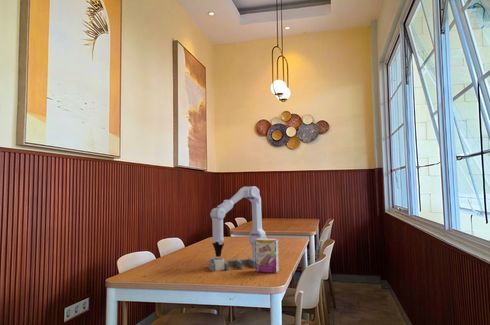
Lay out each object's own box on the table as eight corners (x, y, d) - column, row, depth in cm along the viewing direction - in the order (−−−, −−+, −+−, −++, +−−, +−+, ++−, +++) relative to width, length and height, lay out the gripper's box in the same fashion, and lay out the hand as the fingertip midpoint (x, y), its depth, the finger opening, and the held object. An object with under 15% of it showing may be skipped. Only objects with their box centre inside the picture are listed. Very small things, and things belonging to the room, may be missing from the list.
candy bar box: (255, 272, 180) (254, 239, 181) (258, 270, 185) (257, 238, 186) (276, 273, 177) (275, 240, 178) (279, 271, 181) (278, 238, 182)
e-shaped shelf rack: (249, 263, 201) (248, 254, 202) (255, 268, 189) (255, 258, 190) (208, 267, 195) (208, 257, 195) (212, 271, 183) (212, 262, 183)
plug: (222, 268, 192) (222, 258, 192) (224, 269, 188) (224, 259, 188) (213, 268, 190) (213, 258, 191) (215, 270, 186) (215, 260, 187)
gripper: (208, 229, 196) (208, 254, 195) (213, 232, 182) (213, 259, 181) (220, 228, 198) (221, 253, 197) (226, 231, 184) (227, 258, 183)
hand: (218, 256), depth 189 cm, fingers closed
